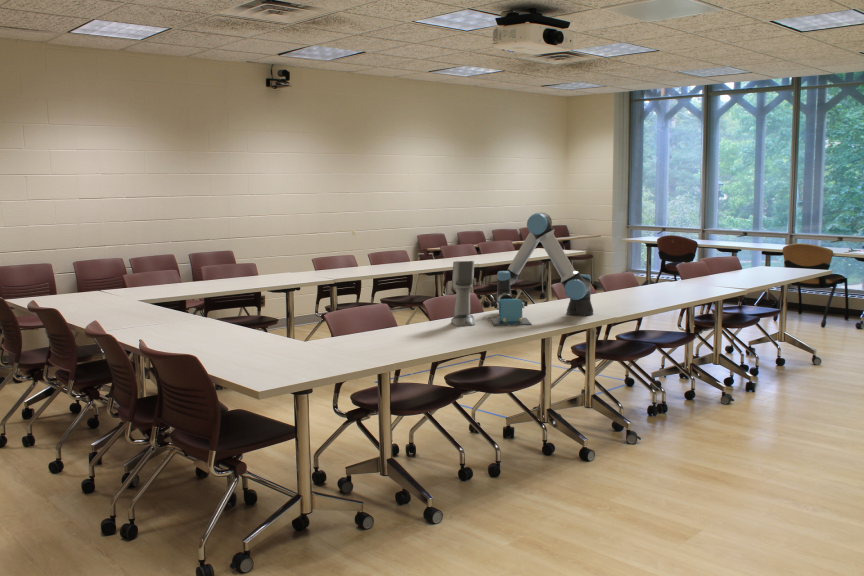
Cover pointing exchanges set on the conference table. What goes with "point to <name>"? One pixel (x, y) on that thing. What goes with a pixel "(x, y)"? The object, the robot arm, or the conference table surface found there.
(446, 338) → the conference table surface
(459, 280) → the grey pedestal post
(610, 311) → the conference table surface
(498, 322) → the chassis
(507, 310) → the teal square slab
